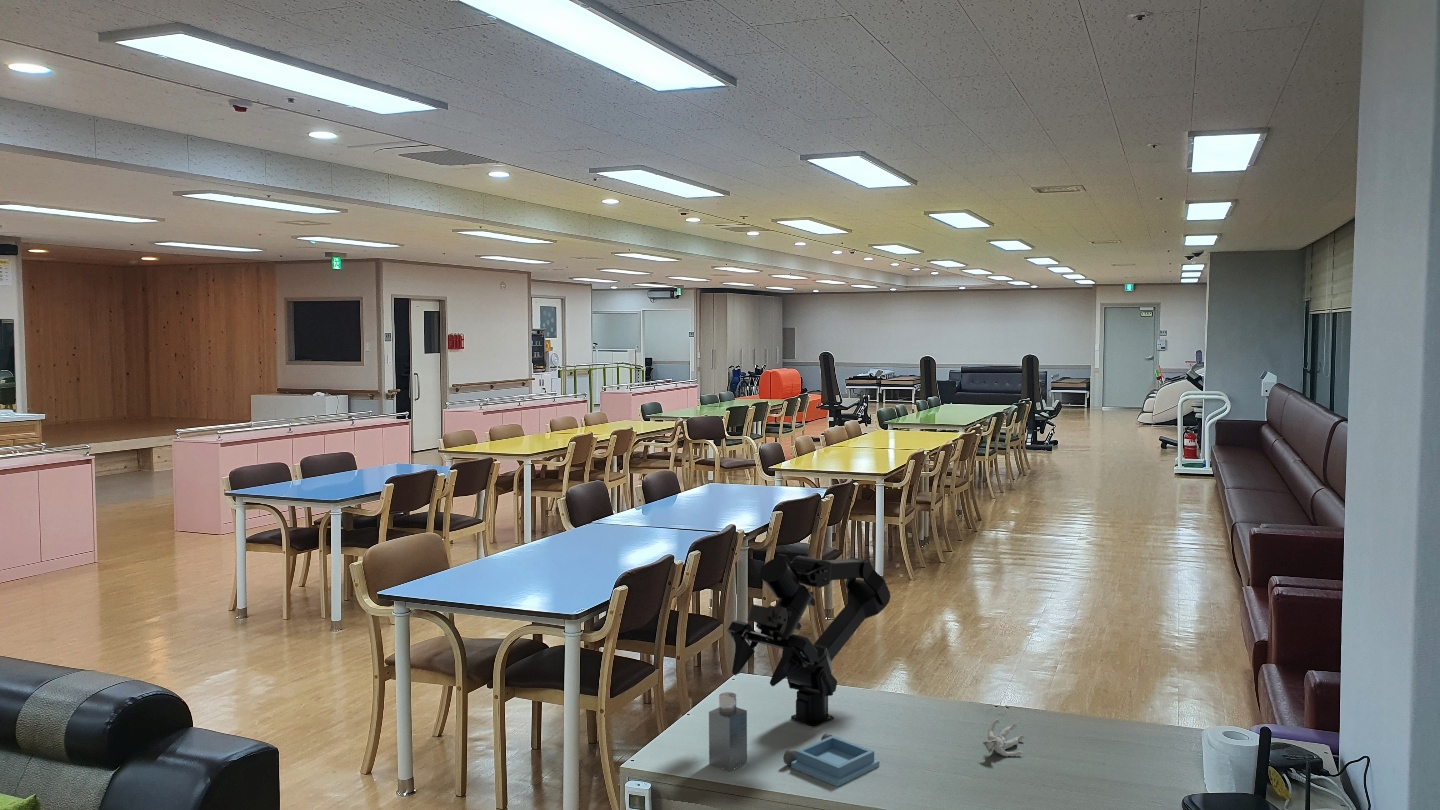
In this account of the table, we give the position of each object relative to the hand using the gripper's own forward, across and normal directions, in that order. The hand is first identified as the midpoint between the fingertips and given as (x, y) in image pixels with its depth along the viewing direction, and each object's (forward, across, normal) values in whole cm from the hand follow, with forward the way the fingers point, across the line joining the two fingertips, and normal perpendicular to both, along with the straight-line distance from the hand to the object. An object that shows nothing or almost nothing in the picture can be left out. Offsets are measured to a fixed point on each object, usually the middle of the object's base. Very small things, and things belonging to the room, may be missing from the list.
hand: (752, 679), depth 198 cm
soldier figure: (-13, +37, +32) cm, 50 cm away
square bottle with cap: (+15, 0, +5) cm, 16 cm away
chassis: (+7, +16, +13) cm, 22 cm away
